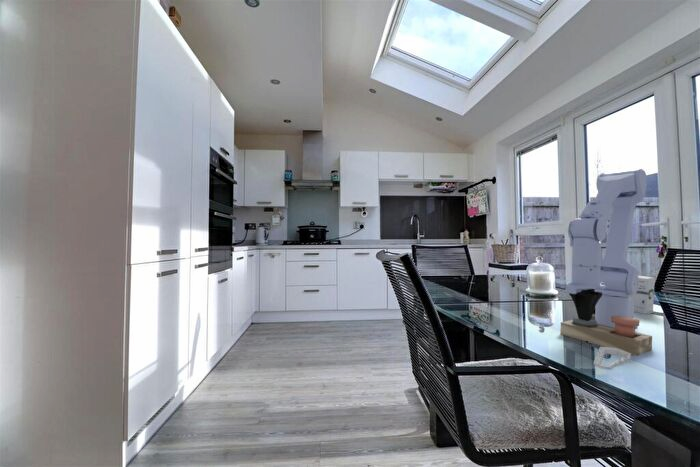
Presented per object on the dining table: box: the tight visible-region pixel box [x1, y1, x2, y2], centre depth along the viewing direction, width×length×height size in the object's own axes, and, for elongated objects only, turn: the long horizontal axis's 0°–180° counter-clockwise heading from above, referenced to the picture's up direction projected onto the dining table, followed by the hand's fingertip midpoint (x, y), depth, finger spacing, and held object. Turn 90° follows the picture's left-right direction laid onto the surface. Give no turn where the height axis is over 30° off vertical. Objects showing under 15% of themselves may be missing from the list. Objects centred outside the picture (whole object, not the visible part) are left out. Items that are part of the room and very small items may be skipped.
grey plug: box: [572, 316, 597, 328], centre depth 77 cm, size 5×5×4 cm
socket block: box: [559, 319, 653, 357], centre depth 74 cm, size 8×15×3 cm, turn 28°
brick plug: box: [611, 316, 640, 337], centre depth 70 cm, size 5×5×4 cm
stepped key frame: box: [593, 346, 632, 370], centre depth 63 cm, size 13×5×2 cm, turn 135°
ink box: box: [630, 275, 656, 315], centre depth 105 cm, size 9×5×12 cm, turn 27°
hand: (584, 319), depth 77 cm, fingers closed, pressing on grey plug
